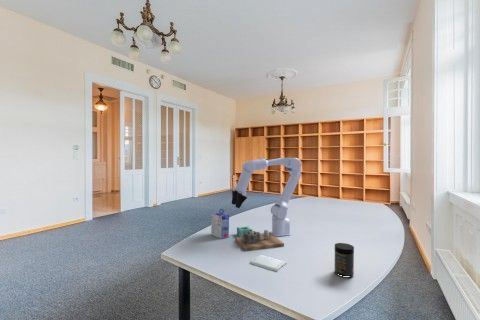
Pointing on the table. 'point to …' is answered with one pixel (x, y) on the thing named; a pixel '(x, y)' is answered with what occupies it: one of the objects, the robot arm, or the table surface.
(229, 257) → the table surface
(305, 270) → the table surface
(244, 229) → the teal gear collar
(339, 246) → the supplement container
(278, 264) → the hard drive
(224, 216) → the ink cartridge box
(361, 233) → the table surface
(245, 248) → the gear board
